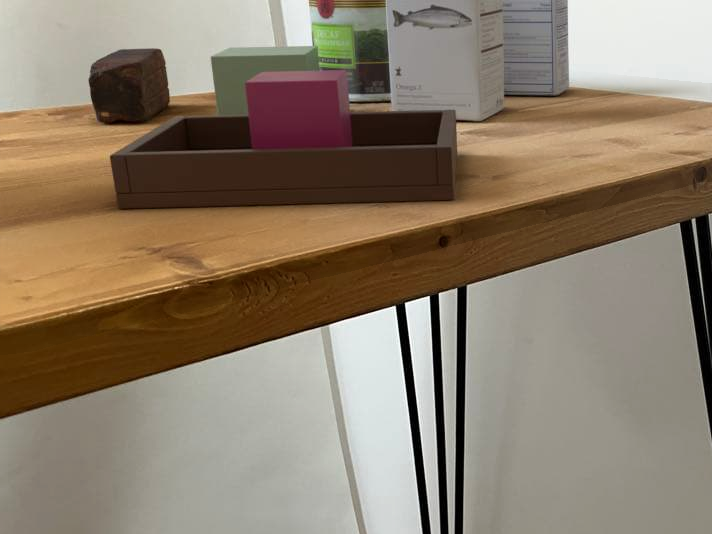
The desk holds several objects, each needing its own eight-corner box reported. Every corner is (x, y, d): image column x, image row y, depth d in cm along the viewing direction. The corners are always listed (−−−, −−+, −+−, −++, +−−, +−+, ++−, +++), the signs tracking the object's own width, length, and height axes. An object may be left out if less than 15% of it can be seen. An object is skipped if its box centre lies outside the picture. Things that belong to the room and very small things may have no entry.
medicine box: (570, 90, 100) (569, -13, 96) (557, 97, 96) (556, -10, 92) (486, 89, 102) (483, -12, 98) (470, 95, 98) (466, -10, 94)
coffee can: (374, 106, 92) (361, -79, 87) (291, 97, 98) (274, -76, 93) (456, 92, 100) (448, -79, 94) (374, 84, 106) (363, -77, 100)
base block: (218, 125, 84) (210, 56, 82) (237, 111, 91) (229, 47, 89) (311, 122, 85) (305, 54, 83) (323, 109, 91) (317, 45, 89)
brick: (124, 106, 95) (115, 48, 93) (172, 104, 95) (164, 47, 93) (93, 126, 85) (82, 62, 83) (147, 124, 85) (137, 60, 83)
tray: (117, 209, 58) (108, 155, 57) (180, 160, 71) (174, 116, 70) (453, 200, 59) (451, 146, 58) (457, 153, 71) (455, 109, 70)
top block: (254, 174, 62) (244, 82, 60) (270, 158, 67) (260, 71, 65) (344, 172, 62) (336, 80, 60) (353, 155, 67) (346, 69, 65)
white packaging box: (389, 120, 85) (377, -59, 80) (421, 107, 91) (412, -60, 86) (482, 122, 83) (475, -60, 78) (508, 108, 90) (503, -61, 85)
